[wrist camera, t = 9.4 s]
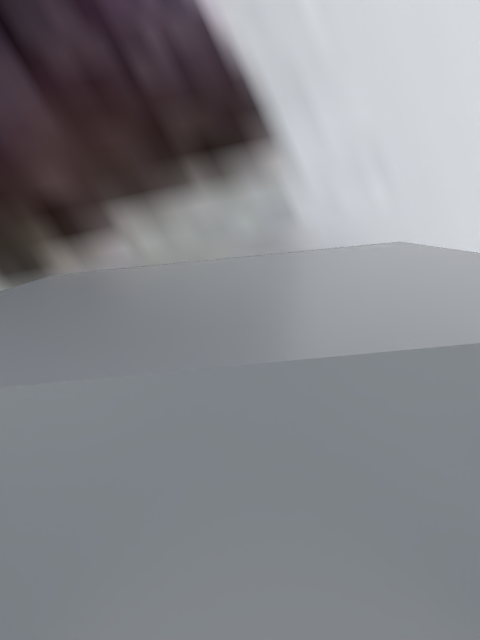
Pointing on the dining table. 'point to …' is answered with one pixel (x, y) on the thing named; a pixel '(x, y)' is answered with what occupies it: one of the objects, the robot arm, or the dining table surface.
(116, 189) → the dining table surface
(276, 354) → the grey matte cube
